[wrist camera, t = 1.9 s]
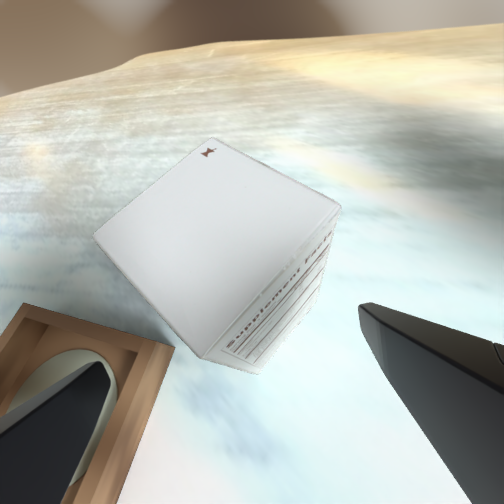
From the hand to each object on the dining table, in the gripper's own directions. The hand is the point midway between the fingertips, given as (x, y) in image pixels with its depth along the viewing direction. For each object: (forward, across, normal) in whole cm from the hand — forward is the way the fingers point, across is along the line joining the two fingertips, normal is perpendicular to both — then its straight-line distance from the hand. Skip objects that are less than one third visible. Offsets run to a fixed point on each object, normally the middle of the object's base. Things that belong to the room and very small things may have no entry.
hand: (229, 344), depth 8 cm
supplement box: (+11, 0, +5) cm, 12 cm away
